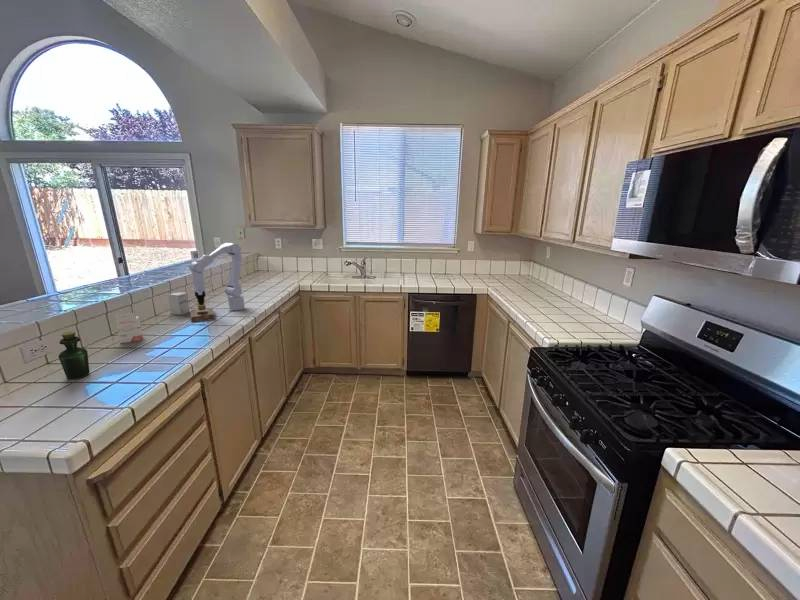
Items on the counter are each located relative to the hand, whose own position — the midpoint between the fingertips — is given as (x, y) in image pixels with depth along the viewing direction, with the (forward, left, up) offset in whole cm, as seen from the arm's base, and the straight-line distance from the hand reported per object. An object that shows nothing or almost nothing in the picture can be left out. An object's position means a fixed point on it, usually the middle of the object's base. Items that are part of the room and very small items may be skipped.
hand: (201, 303), depth 201 cm
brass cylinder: (0, 0, -3) cm, 3 cm away
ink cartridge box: (+32, +25, -9) cm, 42 cm away
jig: (0, -2, -9) cm, 9 cm away
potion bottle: (+45, +60, -9) cm, 76 cm away
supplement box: (+12, -17, -9) cm, 23 cm away
